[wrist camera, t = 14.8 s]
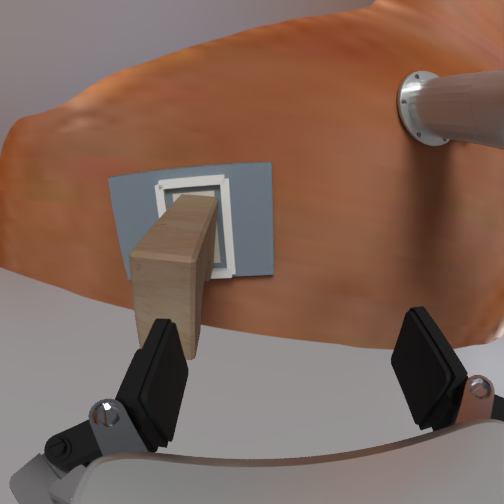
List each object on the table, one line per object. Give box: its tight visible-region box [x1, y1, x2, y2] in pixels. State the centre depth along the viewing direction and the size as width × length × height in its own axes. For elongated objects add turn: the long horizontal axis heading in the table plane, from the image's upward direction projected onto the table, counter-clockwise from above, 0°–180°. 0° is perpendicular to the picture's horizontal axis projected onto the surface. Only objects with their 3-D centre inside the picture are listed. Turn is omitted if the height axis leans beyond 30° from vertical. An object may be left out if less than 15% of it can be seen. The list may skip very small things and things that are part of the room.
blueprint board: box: [108, 162, 274, 280], centre depth 41 cm, size 24×17×2 cm
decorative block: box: [129, 194, 218, 360], centre depth 32 cm, size 11×6×20 cm, turn 172°
